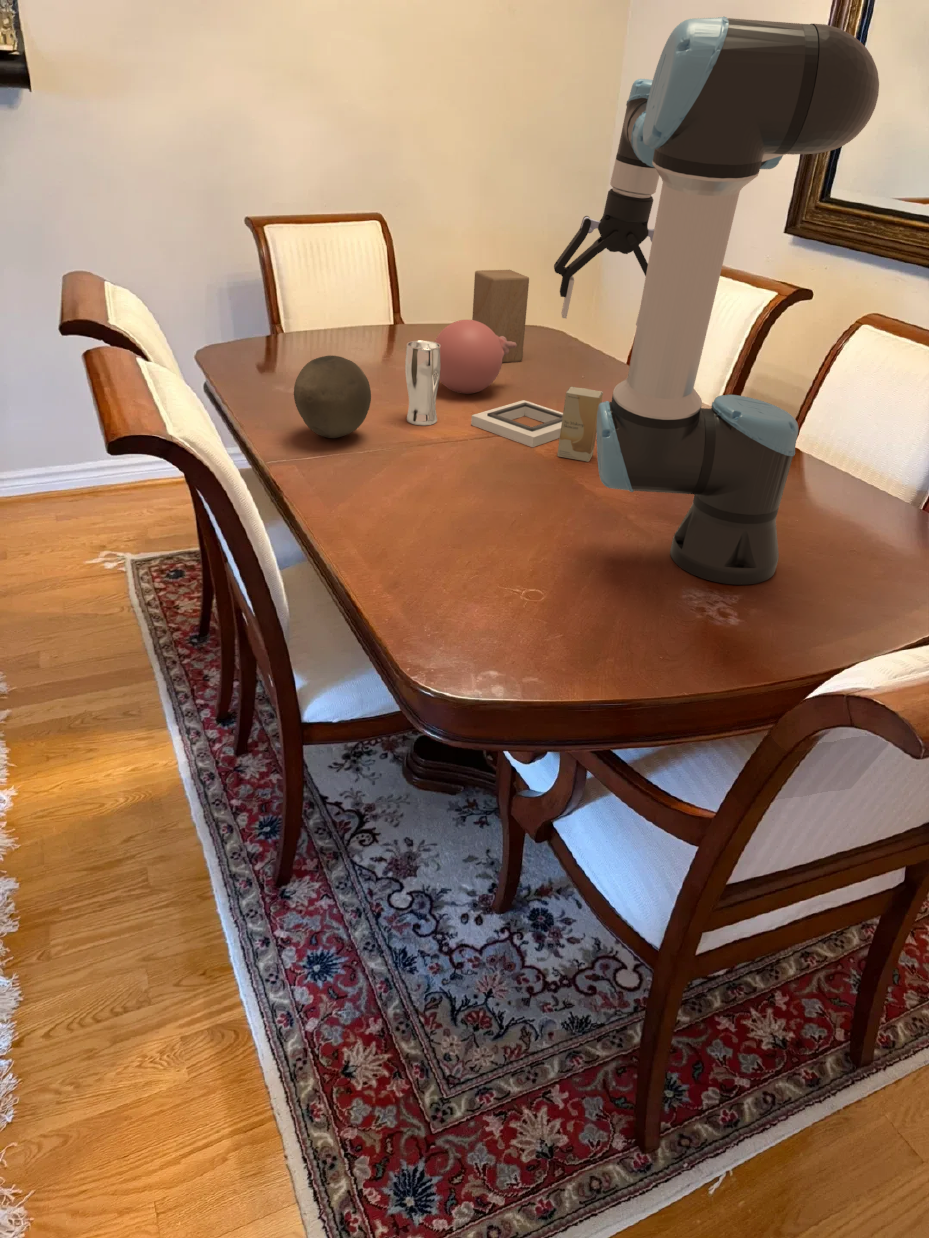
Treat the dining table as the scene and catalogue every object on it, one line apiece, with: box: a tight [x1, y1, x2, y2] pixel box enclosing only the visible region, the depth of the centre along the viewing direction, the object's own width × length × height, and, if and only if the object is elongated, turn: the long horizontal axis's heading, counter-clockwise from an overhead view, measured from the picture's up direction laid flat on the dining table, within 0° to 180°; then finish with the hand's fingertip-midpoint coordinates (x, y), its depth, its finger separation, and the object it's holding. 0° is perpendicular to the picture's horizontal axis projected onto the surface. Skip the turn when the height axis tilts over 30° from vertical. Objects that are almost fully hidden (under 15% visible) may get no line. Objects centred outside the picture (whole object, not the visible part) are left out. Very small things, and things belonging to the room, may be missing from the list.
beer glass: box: [404, 339, 441, 426], centre depth 167 cm, size 7×7×15 cm
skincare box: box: [556, 386, 604, 462], centre depth 156 cm, size 6×4×12 cm
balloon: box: [434, 319, 517, 395], centre depth 186 cm, size 15×20×15 cm
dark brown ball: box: [293, 355, 372, 439], centre depth 156 cm, size 14×14×15 cm
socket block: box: [470, 399, 563, 448], centre depth 170 cm, size 16×16×2 cm
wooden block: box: [471, 269, 530, 364], centre depth 209 cm, size 10×10×20 cm
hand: (601, 321), depth 152 cm, fingers open, 13 cm apart
